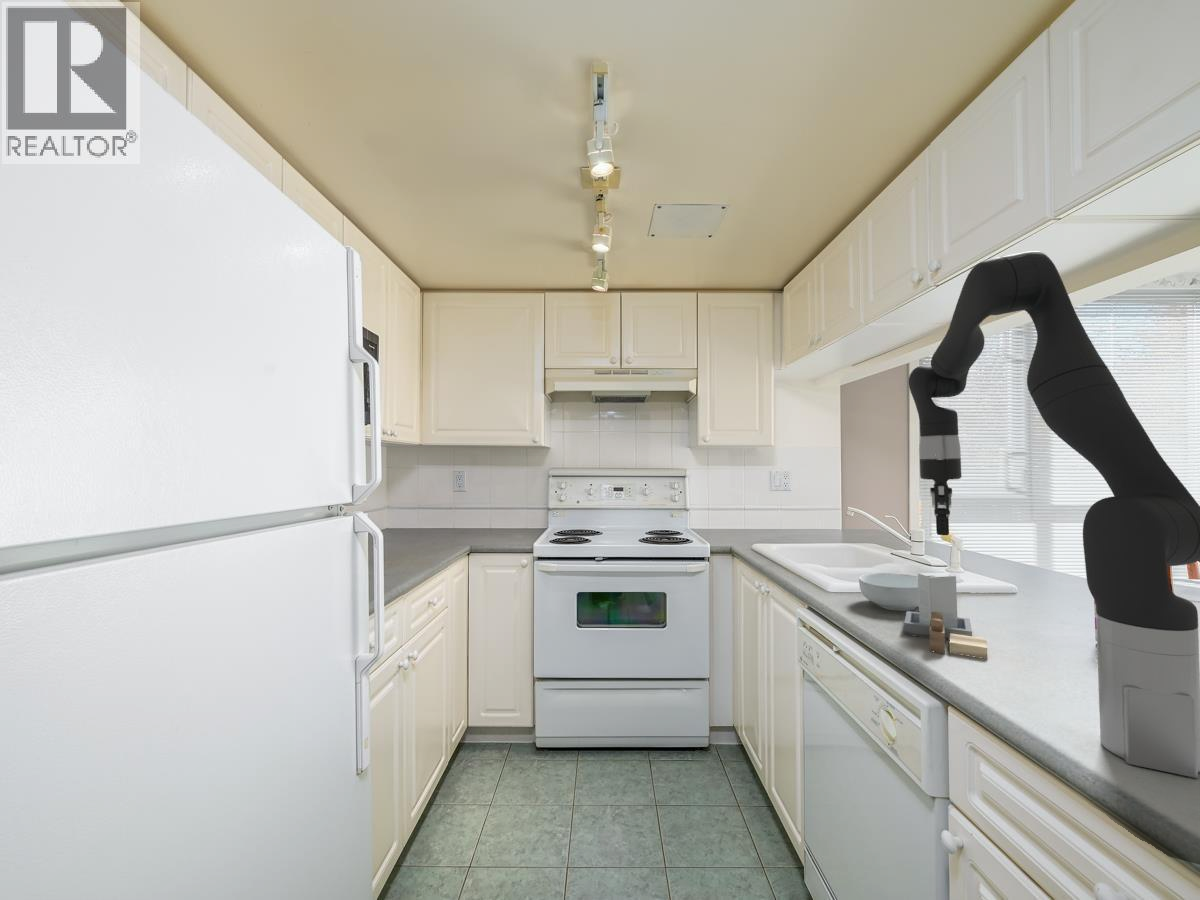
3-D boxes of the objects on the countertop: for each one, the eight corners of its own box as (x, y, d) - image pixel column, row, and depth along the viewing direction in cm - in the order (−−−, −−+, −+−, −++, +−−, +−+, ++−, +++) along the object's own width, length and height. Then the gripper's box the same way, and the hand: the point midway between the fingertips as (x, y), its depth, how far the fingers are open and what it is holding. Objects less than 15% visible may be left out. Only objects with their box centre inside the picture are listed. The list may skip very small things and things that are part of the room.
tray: (972, 643, 109) (972, 631, 109) (904, 634, 116) (904, 622, 116) (969, 629, 118) (969, 618, 118) (906, 621, 124) (906, 611, 124)
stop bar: (945, 653, 104) (944, 622, 104) (930, 651, 105) (929, 621, 105) (944, 641, 111) (943, 612, 111) (930, 639, 112) (929, 610, 112)
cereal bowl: (882, 594, 148) (881, 569, 148) (947, 608, 134) (946, 580, 134) (845, 605, 139) (845, 577, 139) (911, 620, 125) (910, 590, 125)
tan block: (987, 661, 101) (987, 647, 101) (949, 655, 105) (949, 642, 105) (986, 651, 106) (986, 638, 106) (950, 645, 109) (950, 633, 109)
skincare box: (944, 626, 119) (942, 571, 119) (959, 632, 114) (957, 575, 114) (917, 627, 118) (916, 572, 118) (931, 633, 114) (930, 576, 114)
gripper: (920, 457, 124) (922, 527, 123) (918, 457, 112) (921, 535, 111) (959, 456, 120) (962, 529, 119) (962, 456, 108) (965, 537, 107)
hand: (942, 532), depth 115 cm, fingers open, 8 cm apart
